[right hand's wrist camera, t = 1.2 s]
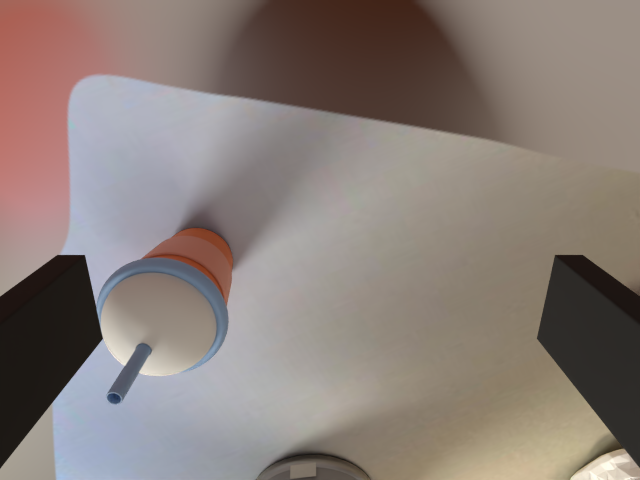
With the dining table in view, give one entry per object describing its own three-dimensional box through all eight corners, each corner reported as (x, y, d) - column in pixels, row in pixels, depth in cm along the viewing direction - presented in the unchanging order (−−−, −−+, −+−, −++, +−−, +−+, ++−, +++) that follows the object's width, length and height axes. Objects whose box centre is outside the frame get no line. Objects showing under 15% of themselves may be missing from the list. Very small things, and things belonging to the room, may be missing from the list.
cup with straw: (236, 203, 38) (170, 315, 22) (259, 294, 42) (217, 450, 25) (136, 220, 39) (-3, 340, 22) (166, 307, 42) (66, 469, 26)
